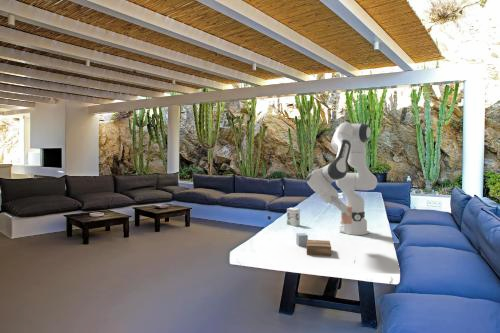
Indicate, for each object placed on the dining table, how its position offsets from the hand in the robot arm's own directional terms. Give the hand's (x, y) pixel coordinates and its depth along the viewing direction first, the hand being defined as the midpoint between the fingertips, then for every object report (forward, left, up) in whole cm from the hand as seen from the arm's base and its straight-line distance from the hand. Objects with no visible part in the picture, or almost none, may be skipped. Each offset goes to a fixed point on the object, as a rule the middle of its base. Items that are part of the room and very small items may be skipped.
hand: (347, 213), depth 184 cm
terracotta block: (0, -1, -5) cm, 5 cm away
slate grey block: (-5, -24, -19) cm, 31 cm away
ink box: (-58, -24, -19) cm, 65 cm away
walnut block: (+8, -17, -19) cm, 27 cm away
